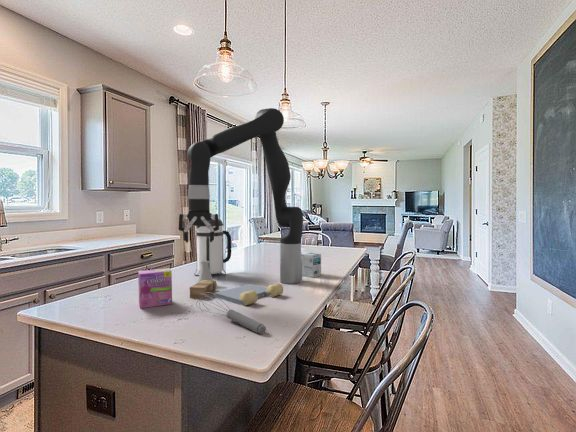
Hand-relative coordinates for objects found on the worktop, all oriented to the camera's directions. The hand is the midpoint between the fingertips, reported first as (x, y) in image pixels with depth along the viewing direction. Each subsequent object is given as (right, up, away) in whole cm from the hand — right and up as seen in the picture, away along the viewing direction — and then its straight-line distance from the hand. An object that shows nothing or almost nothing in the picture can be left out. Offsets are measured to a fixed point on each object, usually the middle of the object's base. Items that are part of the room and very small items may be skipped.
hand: (199, 242), depth 125 cm
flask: (-3, -20, +21) cm, 29 cm away
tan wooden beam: (0, -20, +6) cm, 21 cm away
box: (-13, -21, -7) cm, 26 cm away
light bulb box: (+43, -19, +40) cm, 61 cm away
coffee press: (-4, -19, +40) cm, 45 cm away
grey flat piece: (+18, -21, +3) cm, 27 cm away
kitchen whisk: (+15, -22, -22) cm, 35 cm away
